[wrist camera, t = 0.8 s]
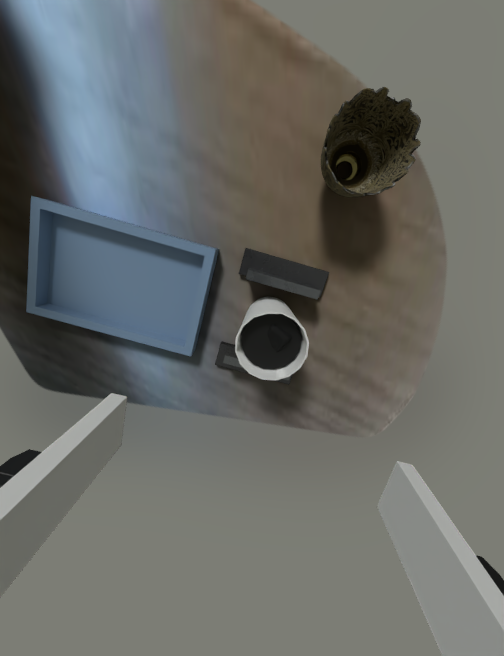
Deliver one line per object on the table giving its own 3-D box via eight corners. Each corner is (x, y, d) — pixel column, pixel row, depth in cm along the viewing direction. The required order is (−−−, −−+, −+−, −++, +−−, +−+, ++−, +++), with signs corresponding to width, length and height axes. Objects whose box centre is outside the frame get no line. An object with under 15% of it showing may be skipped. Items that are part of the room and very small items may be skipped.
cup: (296, 188, 30) (308, 168, 22) (330, 116, 28) (356, 66, 20) (355, 219, 30) (387, 210, 23) (392, 151, 29) (441, 115, 21)
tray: (48, 199, 31) (31, 195, 29) (219, 249, 32) (215, 249, 29) (42, 307, 35) (26, 312, 32) (195, 349, 36) (190, 356, 33)
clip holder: (245, 247, 32) (243, 247, 28) (327, 271, 32) (336, 274, 28) (216, 362, 36) (210, 375, 32) (288, 381, 36) (291, 397, 33)
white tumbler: (264, 281, 33) (265, 295, 23) (306, 314, 34) (324, 340, 24) (231, 323, 34) (220, 353, 25) (273, 354, 35) (277, 393, 26)
